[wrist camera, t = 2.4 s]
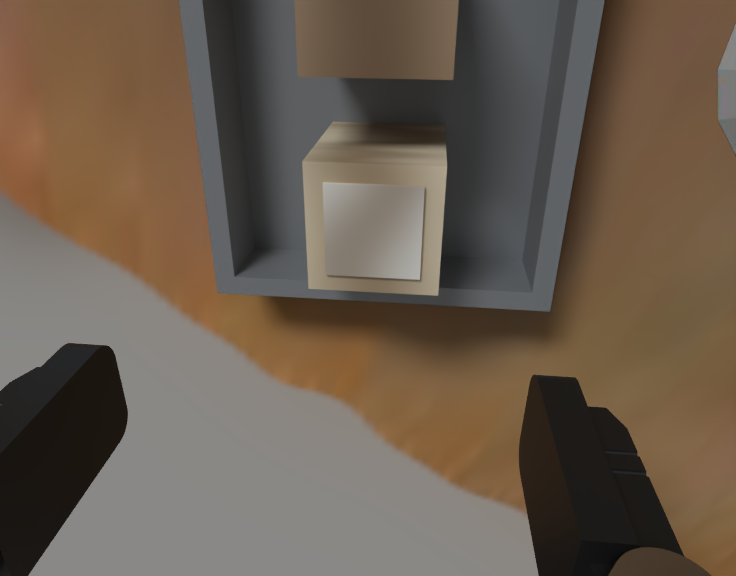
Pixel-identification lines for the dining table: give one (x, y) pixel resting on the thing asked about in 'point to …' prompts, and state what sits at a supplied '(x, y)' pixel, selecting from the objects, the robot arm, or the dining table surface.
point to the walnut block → (376, 38)
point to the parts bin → (406, 106)
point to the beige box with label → (375, 207)
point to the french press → (728, 91)
